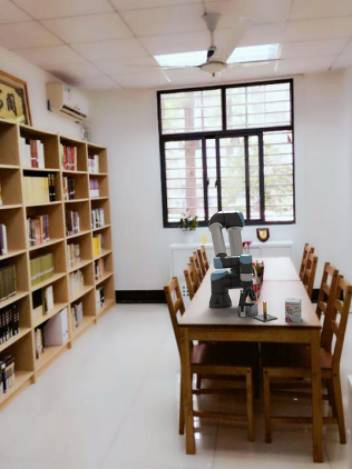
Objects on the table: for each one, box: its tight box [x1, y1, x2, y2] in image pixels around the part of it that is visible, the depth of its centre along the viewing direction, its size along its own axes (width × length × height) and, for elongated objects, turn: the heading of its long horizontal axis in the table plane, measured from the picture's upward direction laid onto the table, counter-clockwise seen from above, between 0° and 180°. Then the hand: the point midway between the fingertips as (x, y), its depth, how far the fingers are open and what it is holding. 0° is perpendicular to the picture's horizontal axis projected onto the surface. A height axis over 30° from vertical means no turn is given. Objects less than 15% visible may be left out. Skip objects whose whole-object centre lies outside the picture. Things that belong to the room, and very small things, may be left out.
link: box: [237, 301, 259, 318], centre depth 267 cm, size 9×9×6 cm
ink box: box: [284, 297, 302, 323], centre depth 251 cm, size 9×9×12 cm
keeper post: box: [252, 301, 278, 323], centre depth 257 cm, size 10×10×10 cm
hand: (248, 314), depth 267 cm, fingers open, 13 cm apart
